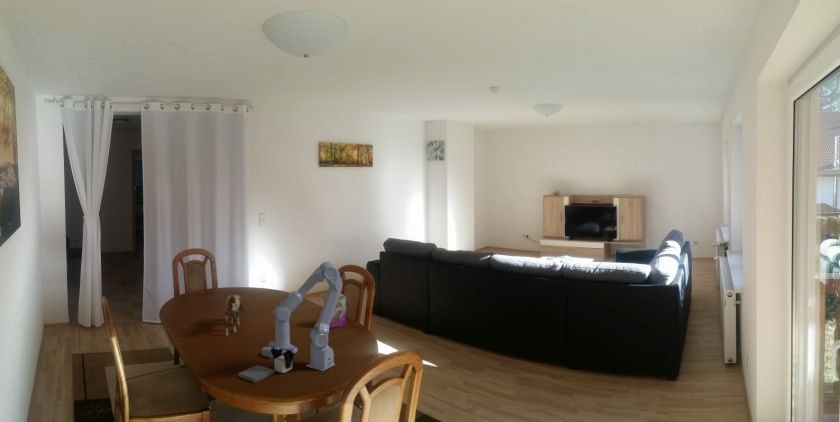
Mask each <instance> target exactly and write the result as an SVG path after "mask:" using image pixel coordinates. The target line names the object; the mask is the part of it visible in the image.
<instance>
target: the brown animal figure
mask: <svg viewBox="0 0 840 422" xmlns="http://www.w3.org/2000/svg"><path fill="white" fill-rule="evenodd" d="M241 299H242V298H241V296H240V295H239V294H230V295H228V296H226V301H225V304H224V309H223V310H224V311H223V313H224V324H225V334H224V335H225V337H228V336H229V334H230V333H229V329H228V327H229V326H228V325H229V324H228V322H229V321H228V320H229V317H231V318H230V319H231V321H230V324H231V325H233V333H237V328H236V327H240V325H241V323H240V318H239V311H240V312H241V313H242V314H245V313H246V310H247V309H245V308H243V305H242V302H241Z"/></svg>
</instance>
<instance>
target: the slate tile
mask: <svg viewBox="0 0 840 422" xmlns="http://www.w3.org/2000/svg"><path fill="white" fill-rule="evenodd" d="M274 374H275V369H271V368H268V367H266V366H262V365H259V364H258V365H254V366H252V367H250V368H247V369H245V370H242V371H240V372H238V373H237V377H238V378H241V379H243V380H246V381H249V382H252V383H256V382H259V381H261V380H264V379H266V378H269V377H270V376H272V375H274Z"/></svg>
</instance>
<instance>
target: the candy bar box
mask: <svg viewBox="0 0 840 422" xmlns="http://www.w3.org/2000/svg"><path fill="white" fill-rule="evenodd" d="M326 296H327V295H325V296H324V295H323V303H324V302H325V299H326ZM346 326H347V295H345V294H341V293H340V295H339V298H338V301H337V304H336V307H335V309H334V312H333V315H332V318H331V321H330V324H329V329H335V328H340V327H341V328H342V327H346Z"/></svg>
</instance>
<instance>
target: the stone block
mask: <svg viewBox="0 0 840 422" xmlns="http://www.w3.org/2000/svg"><path fill="white" fill-rule="evenodd" d="M272 348H273V347H269V346H263V347H262V349H261V356H262V357H264V358H269V359H270V360H271V359H274V357H273V355H272V353H271V352H270V350H271V349H272ZM284 352H287V351H286V350H283V351H282V355H283V353H284Z"/></svg>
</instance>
